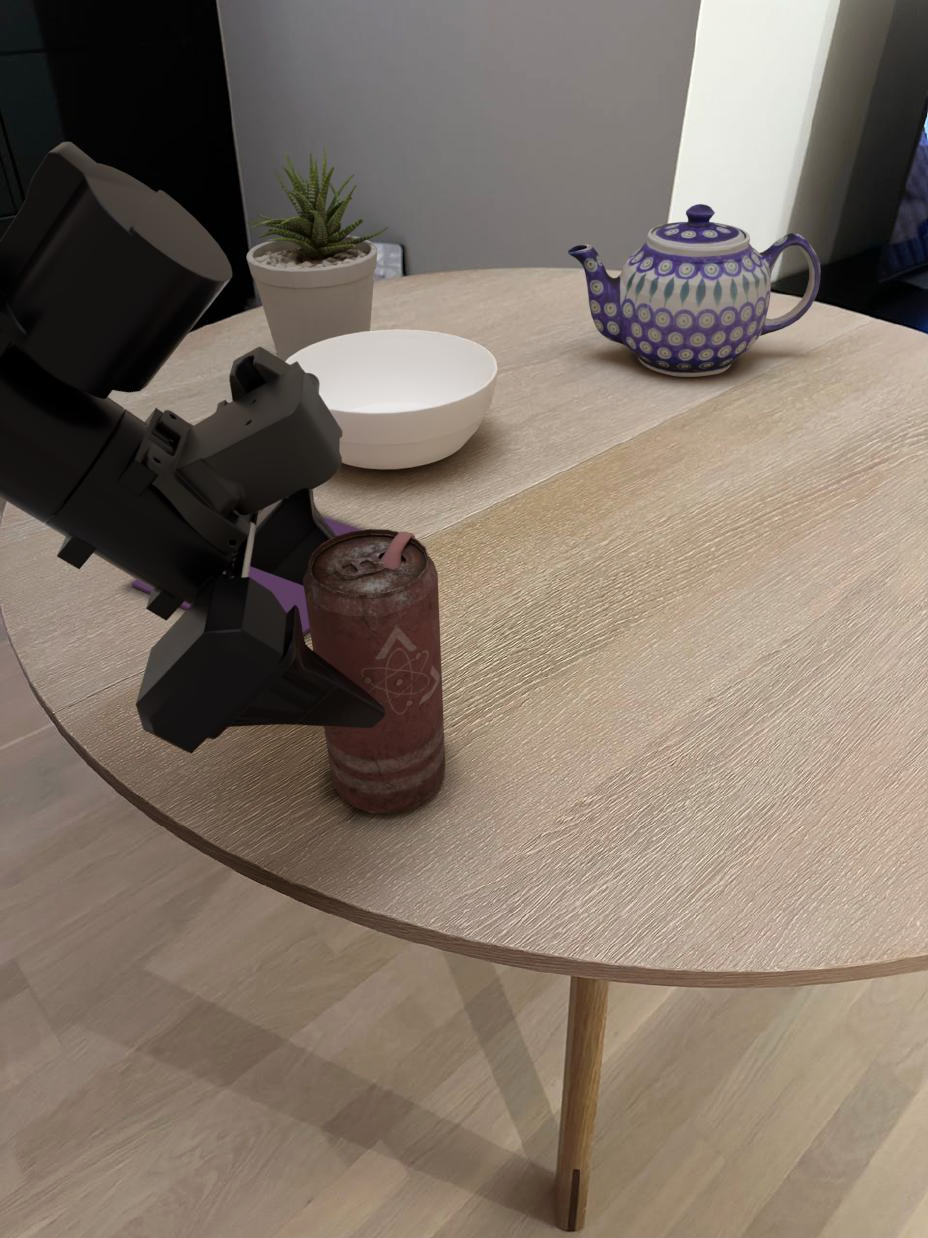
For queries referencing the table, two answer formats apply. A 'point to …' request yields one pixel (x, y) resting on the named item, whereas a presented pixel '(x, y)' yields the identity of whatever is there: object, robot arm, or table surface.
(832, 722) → the table surface
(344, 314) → the potted plant
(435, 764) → the can
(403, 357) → the bowl
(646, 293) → the teapot
